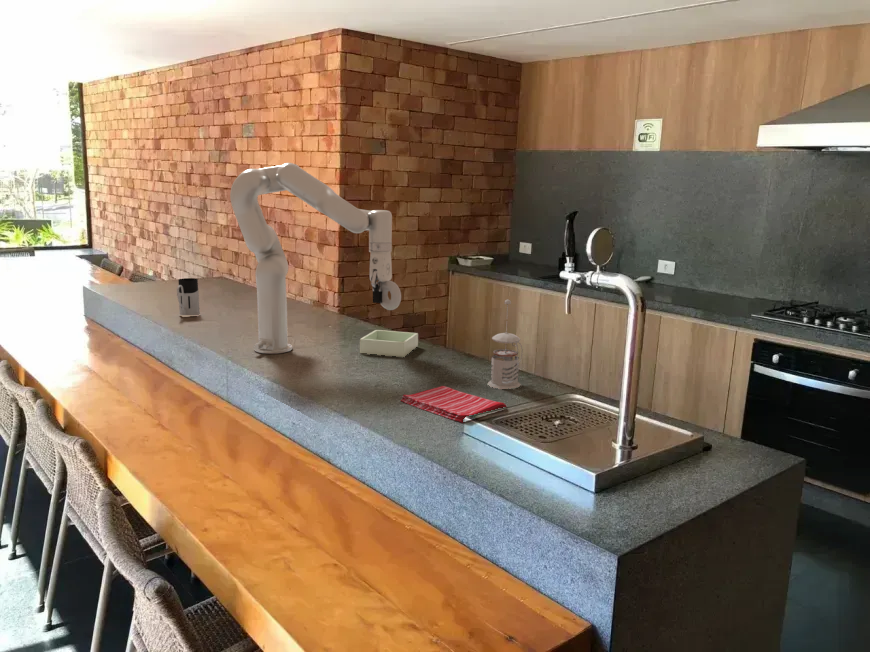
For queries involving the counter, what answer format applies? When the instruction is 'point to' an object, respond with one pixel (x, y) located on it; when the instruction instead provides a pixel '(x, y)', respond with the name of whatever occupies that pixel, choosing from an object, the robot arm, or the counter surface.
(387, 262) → the robot arm
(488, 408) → the dish towel
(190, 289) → the glass holder
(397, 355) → the bin
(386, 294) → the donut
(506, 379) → the french press
